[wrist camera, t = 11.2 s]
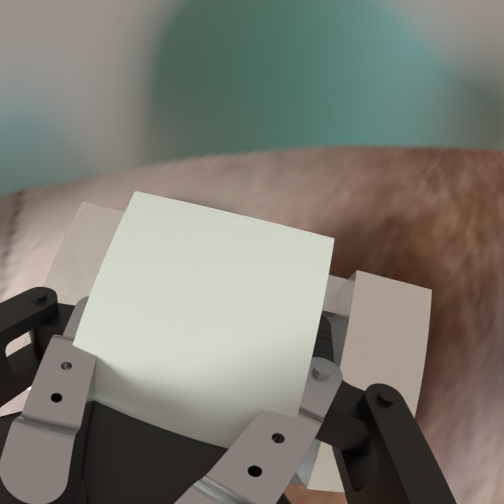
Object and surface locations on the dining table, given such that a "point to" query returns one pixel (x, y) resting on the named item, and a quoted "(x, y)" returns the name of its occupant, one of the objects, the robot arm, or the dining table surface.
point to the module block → (204, 317)
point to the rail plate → (334, 308)
